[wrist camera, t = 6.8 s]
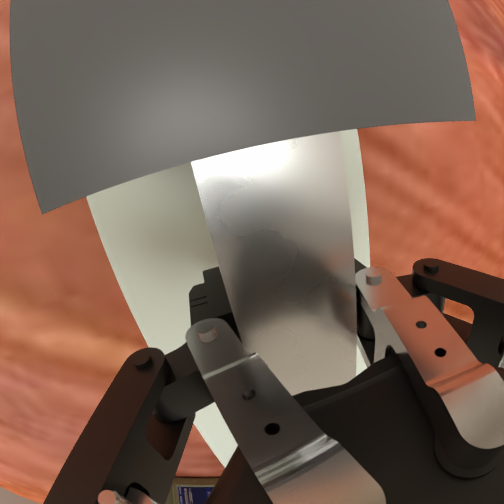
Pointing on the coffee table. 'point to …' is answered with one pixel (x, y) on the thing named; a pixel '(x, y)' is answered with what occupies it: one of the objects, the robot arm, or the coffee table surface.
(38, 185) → the socket
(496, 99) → the coffee table surface
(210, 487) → the handheld radio
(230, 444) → the base board
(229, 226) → the silver metal bar
